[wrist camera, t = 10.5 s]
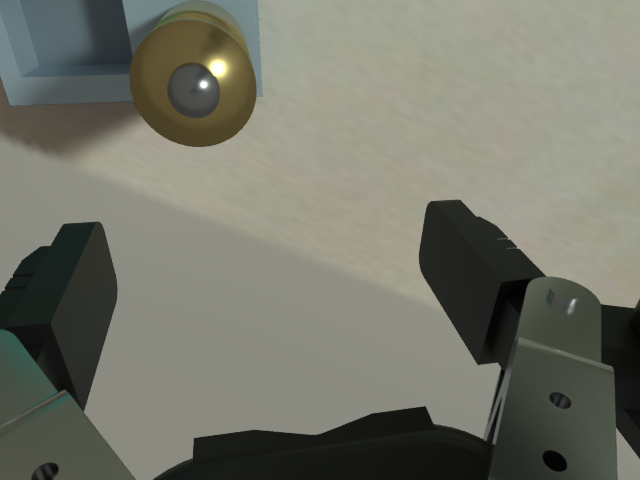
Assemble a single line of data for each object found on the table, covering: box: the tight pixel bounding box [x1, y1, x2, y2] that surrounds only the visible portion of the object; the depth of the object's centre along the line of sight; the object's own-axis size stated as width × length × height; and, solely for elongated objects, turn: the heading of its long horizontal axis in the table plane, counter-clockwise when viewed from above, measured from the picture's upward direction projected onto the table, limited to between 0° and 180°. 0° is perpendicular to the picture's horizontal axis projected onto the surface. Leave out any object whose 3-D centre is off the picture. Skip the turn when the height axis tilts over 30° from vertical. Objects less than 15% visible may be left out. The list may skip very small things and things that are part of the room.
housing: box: [0, 0, 262, 106], centre depth 26 cm, size 10×14×4 cm
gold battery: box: [129, 0, 257, 147], centre depth 22 cm, size 5×5×10 cm
